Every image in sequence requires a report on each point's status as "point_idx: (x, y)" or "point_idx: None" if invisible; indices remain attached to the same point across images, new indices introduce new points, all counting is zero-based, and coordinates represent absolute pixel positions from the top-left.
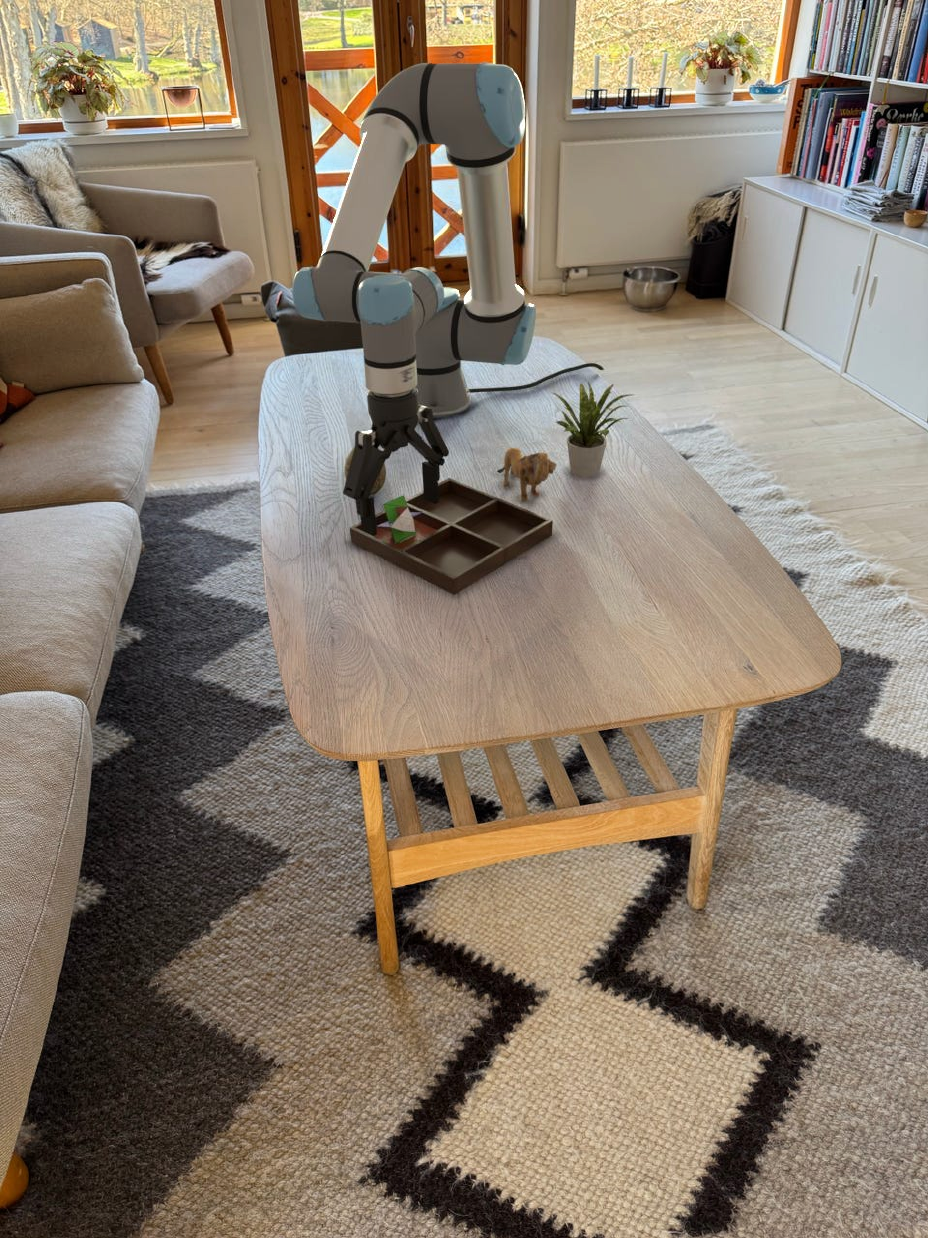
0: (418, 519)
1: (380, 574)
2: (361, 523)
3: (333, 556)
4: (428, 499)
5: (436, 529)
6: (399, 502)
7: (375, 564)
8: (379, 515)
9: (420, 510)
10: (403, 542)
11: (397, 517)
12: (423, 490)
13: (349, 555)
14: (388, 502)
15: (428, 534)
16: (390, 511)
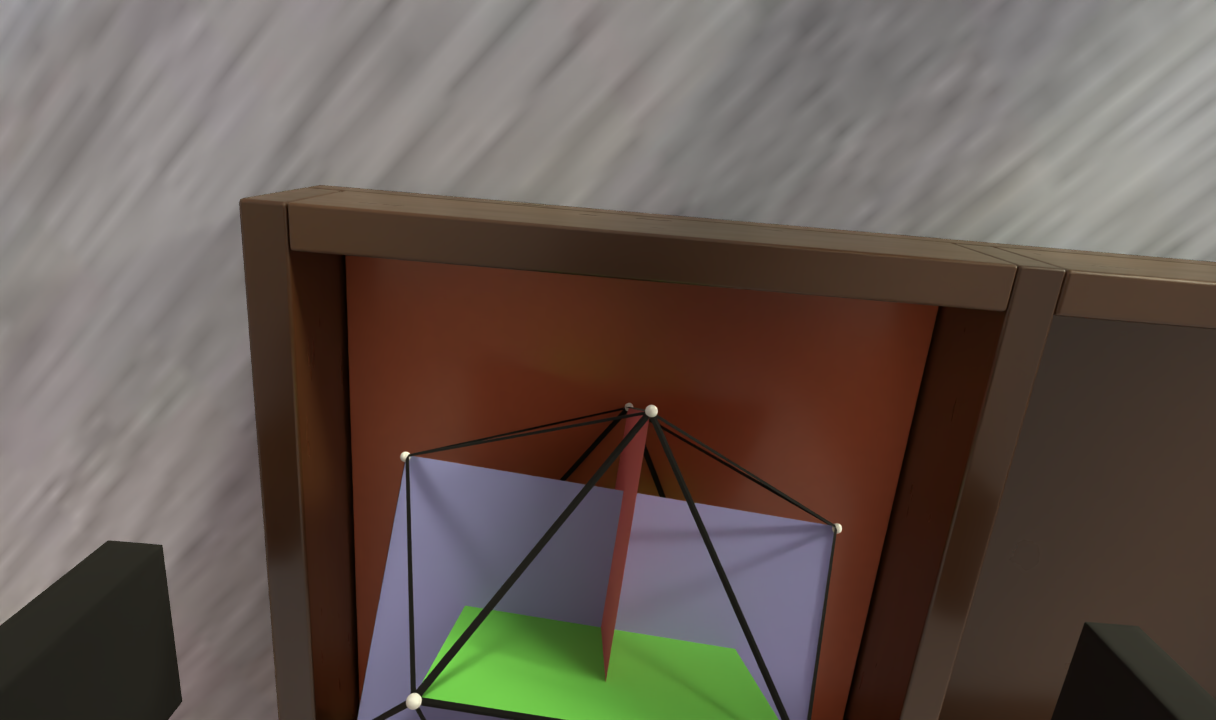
0: (910, 478)
1: (194, 652)
2: (34, 607)
3: (73, 222)
4: (1073, 700)
5: (860, 651)
6: (684, 709)
7: (249, 553)
8: (648, 279)
9: (962, 545)
10: None
11: (582, 636)
12: (1165, 708)
13: (183, 319)
14: (509, 713)
15: None
16: (511, 659)
